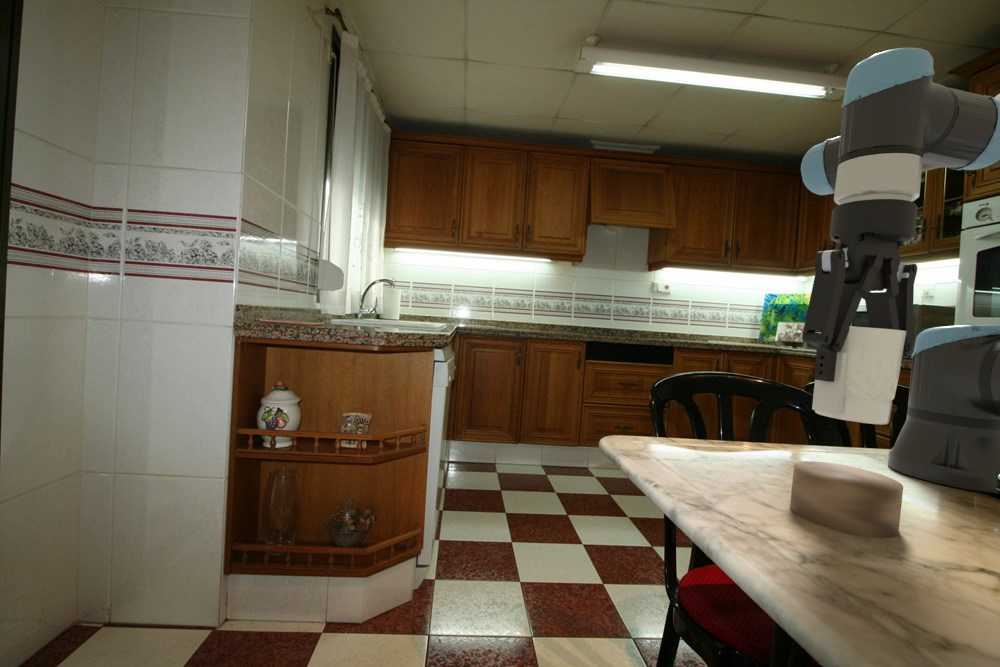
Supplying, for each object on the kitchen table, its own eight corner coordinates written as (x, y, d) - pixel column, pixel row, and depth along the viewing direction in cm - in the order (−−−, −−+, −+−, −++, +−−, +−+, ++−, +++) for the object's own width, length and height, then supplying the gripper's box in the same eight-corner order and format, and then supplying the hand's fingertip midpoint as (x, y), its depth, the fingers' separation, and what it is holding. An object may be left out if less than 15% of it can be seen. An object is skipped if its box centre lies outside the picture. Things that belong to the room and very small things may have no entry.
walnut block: (851, 504, 61) (855, 464, 61) (924, 541, 51) (929, 493, 51) (771, 499, 61) (775, 458, 61) (829, 536, 51) (834, 487, 51)
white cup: (866, 415, 59) (875, 330, 59) (914, 429, 51) (925, 332, 51) (796, 408, 60) (805, 324, 60) (832, 421, 52) (843, 325, 52)
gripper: (894, 222, 62) (874, 406, 63) (776, 195, 54) (755, 404, 55) (969, 213, 55) (946, 419, 56) (847, 179, 48) (821, 420, 48)
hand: (851, 412), depth 56 cm, fingers closed on white cup, 8 cm apart
